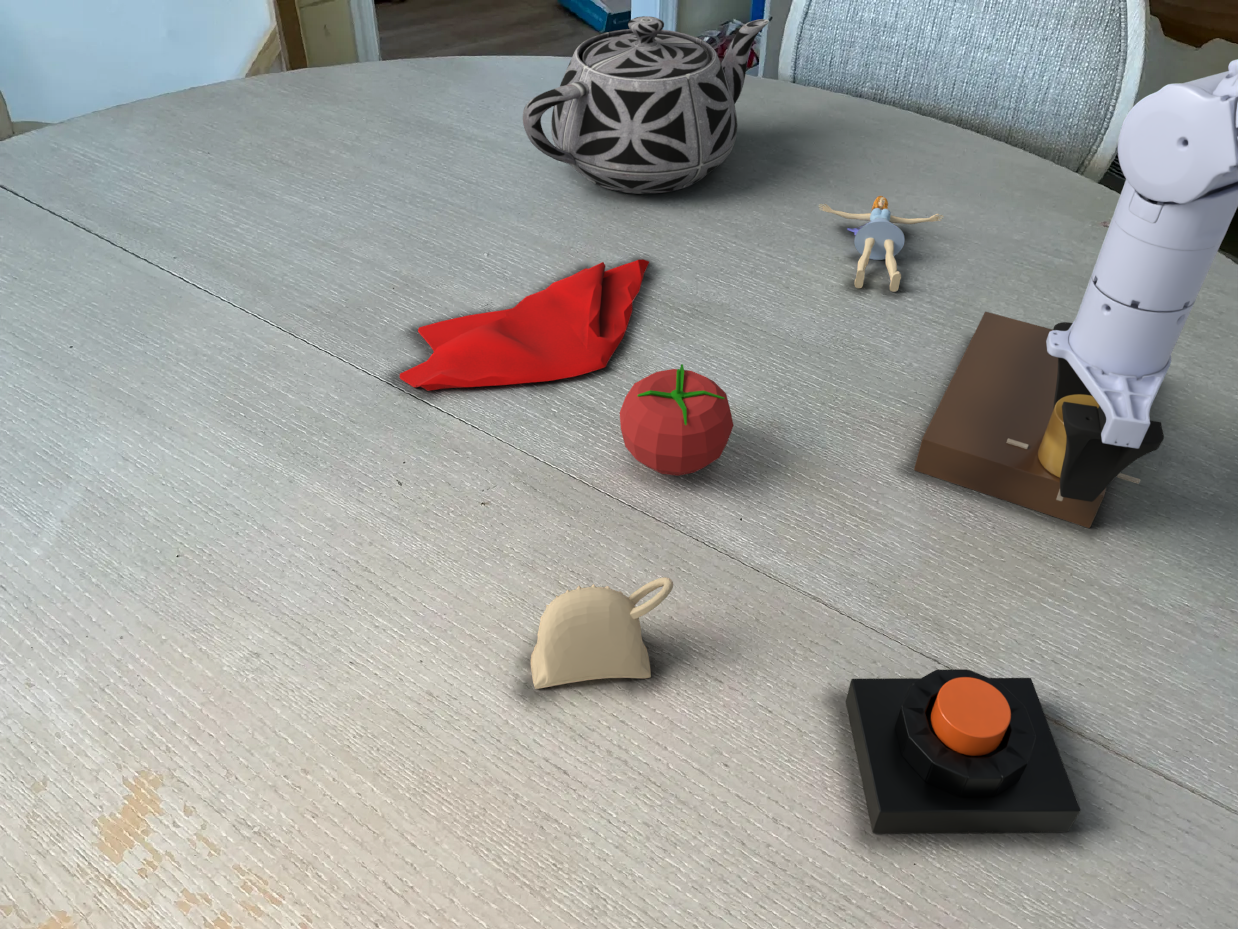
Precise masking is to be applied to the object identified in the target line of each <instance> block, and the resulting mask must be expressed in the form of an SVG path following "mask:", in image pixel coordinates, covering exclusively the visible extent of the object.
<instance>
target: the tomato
mask: <svg viewBox="0 0 1238 929" xmlns="http://www.w3.org/2000/svg"><path fill="white" fill-rule="evenodd" d="M619 422H620V431H621V435H622V439H623V443H624V447H625V449H626V450H628V452H629V453H630V454H631V455H632V457H633V458H634V459H635V460H636V461H637V462H639V463H640V464H642V465H644V466H645V467H647V468H648V469H651V470H653V471H655V472H657V473H659V474H661V475H668V476H676V477H680V476H684V475H691V474H693V473H696V472H698V471H700V470H702V469H704V468H705V467H707V466H709V465H711V464H712V463H713V462H715V461H717V460H718V459H720V458H721V456H722V454H723V452H724V451H725V448H726V447H727V444H728V443H729V440H730V437H731V434H732V432H733V428H734V425H735V424H734V421H733V416H732V411H731V407H730V403H729V398H728V396H727V393H726V392H725V391H724V390H723V389H722V388H721V387H720V386H719V384H717V382H715V381H714V380H713V379H711V378H709V377H707V376H705V375H703V374H701V373H698V372H696V371H693V370H689V369H685V367H684V364H683V363H681V364H680V367H679V368H670V369H664V370H658V371H655V372H654V373H651V374H649V375H647V376H646V377H643V378H642V379H640V380H638V381H636V382H635V383H633V384H632V386H631V388H630V389H629V391H628V392H627V394H626V395H625V398H624V400H623V403H622V405H621V408H620V411H619Z"/></svg>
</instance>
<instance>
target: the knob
mask: <svg viewBox="0 0 1238 929" xmlns="http://www.w3.org/2000/svg"><path fill="white" fill-rule="evenodd" d="M1063 402H1070V403H1077V404H1084V405H1090V406H1097V408H1098V407H1099V404H1098V403H1097V401H1096V400H1095V399H1094V397H1093V396H1090V395H1080V394H1077V395H1069V396H1066V397H1063V398H1062V399H1060V400H1059V401H1058V402H1057V403H1056V405H1055V407H1054V410H1053V412H1052V415H1051V418H1050V420H1049V423H1048V426H1047V428H1046V431H1045V434H1044V436H1043V439H1042V442H1041V444H1040V447H1039V450H1038V458H1039V460H1040V462H1041V464H1042V465H1043V467H1044V468H1045V469H1046V470H1048V471H1049V472H1050V473H1052V474H1053V475H1055V476H1057V477H1059V478H1060V475H1061V470H1062V465H1063V460H1064V456H1065V450H1066V437H1067V436H1066V432H1065V427H1064V422H1063V414H1062V405H1063Z"/></svg>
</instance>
